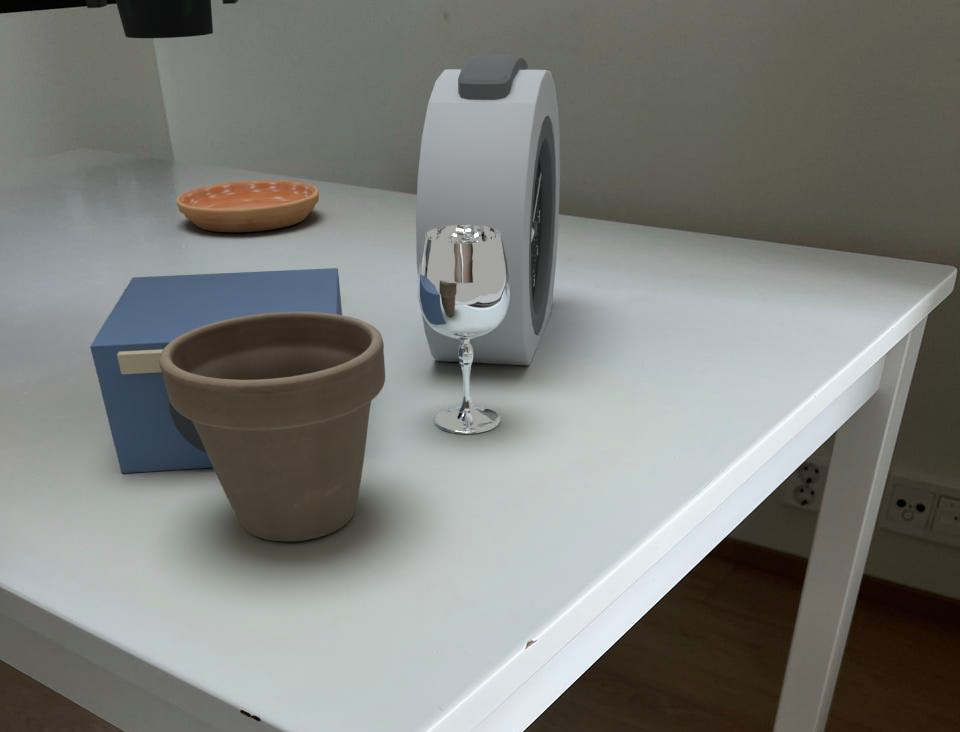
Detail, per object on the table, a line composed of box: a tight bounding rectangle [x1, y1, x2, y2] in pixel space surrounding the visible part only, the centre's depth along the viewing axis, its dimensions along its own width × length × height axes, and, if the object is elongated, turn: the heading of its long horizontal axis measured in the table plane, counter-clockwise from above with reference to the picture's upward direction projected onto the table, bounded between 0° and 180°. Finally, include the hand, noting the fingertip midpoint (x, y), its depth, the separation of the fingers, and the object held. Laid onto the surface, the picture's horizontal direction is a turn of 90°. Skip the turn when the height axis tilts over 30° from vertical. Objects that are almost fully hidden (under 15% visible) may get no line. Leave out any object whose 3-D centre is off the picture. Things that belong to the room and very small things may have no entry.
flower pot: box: [159, 312, 386, 542], centre depth 54 cm, size 12×11×10 cm
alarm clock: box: [415, 53, 561, 366], centre depth 76 cm, size 21×8×20 cm, turn 170°
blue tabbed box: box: [89, 267, 343, 474], centre depth 65 cm, size 14×14×8 cm
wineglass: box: [417, 225, 510, 435], centre depth 64 cm, size 6×6×12 cm
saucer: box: [176, 179, 320, 233], centre depth 114 cm, size 16×16×3 cm
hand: (164, 4), depth 64 cm, fingers closed on cup, 8 cm apart
